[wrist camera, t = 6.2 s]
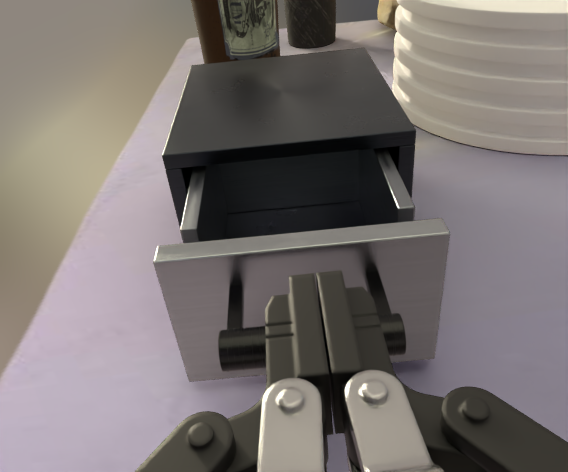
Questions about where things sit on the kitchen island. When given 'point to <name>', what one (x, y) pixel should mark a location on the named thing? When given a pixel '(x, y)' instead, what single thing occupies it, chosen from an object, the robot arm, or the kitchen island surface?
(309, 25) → the travel mug
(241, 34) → the olive oil
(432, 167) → the kitchen island surface
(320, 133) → the cabinet
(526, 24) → the plate stack
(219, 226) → the drawer
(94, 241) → the kitchen island surface
